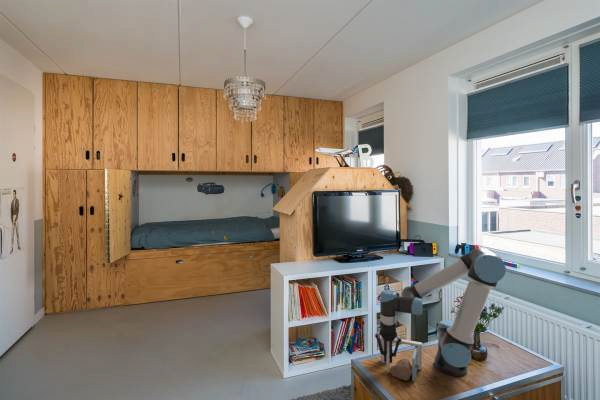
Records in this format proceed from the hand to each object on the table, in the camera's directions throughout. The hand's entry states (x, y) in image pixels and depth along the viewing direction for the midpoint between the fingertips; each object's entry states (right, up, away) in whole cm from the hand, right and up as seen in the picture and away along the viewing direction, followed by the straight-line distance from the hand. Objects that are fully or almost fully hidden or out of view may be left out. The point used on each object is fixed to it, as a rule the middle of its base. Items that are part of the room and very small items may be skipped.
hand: (388, 368), depth 154 cm
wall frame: (+8, -1, +5) cm, 9 cm away
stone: (+5, -2, -3) cm, 6 cm away
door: (+13, -1, -3) cm, 13 cm away
